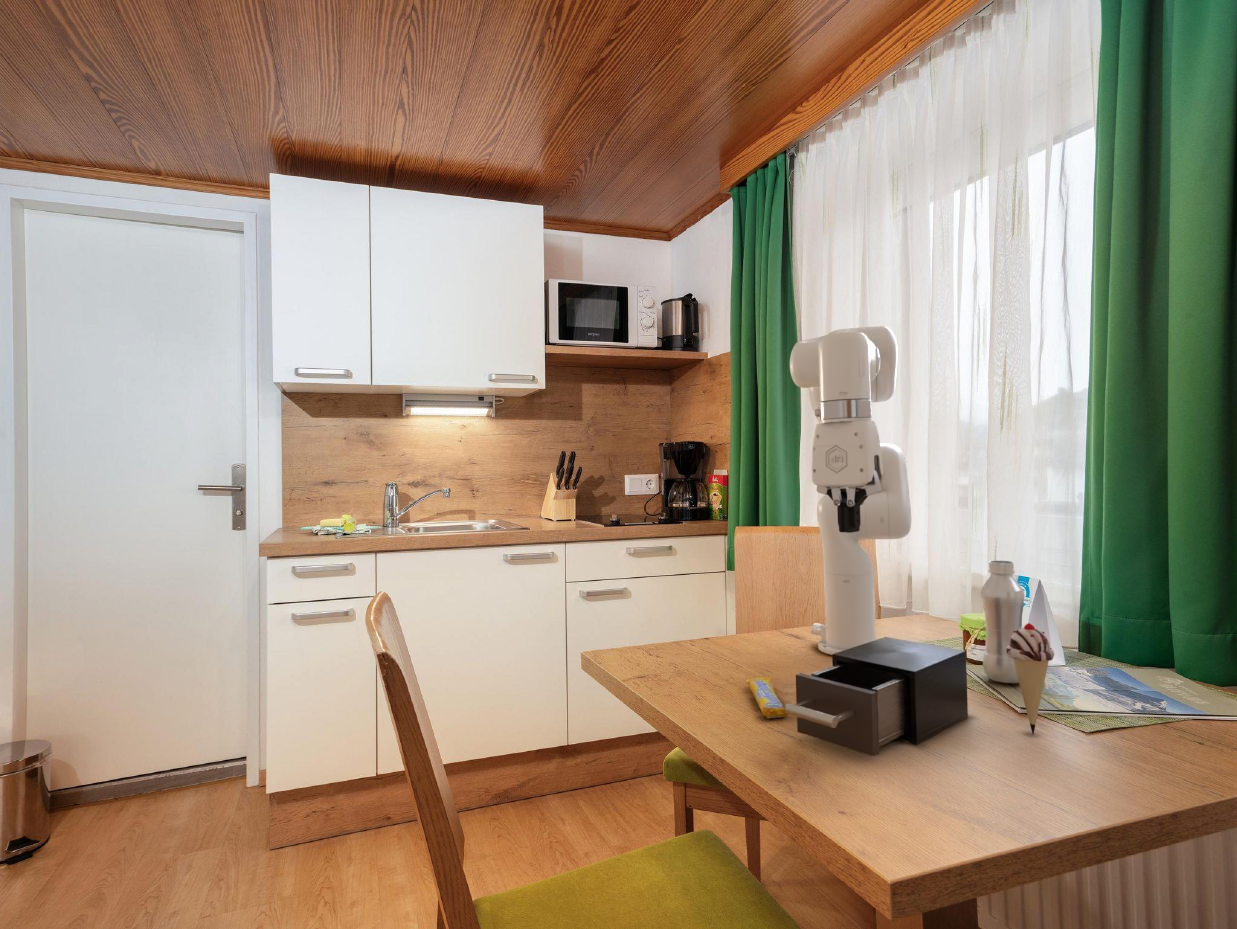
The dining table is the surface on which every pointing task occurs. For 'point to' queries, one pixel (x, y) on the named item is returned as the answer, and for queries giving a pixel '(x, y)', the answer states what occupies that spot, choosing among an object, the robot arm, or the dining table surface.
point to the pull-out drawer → (852, 706)
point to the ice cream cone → (1030, 666)
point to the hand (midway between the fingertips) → (849, 531)
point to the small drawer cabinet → (919, 680)
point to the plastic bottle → (1001, 620)
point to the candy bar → (766, 697)
